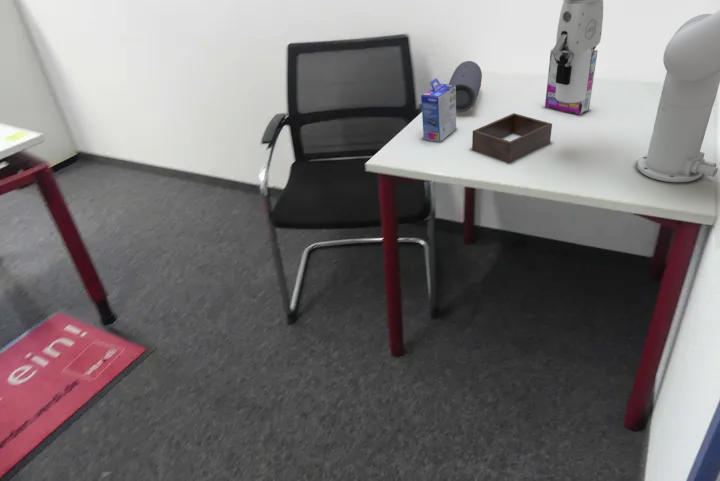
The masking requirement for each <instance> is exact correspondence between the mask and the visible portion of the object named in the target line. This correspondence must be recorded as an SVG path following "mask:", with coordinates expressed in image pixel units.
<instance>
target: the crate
mask: <svg viewBox="0 0 720 481" xmlns="http://www.w3.org/2000/svg"><path fill="white" fill-rule="evenodd" d="M552 129H553V123H551V122H547V121H543V120H539V119H537V118H533V117H529V116H526V115H523V114H518V113H515V112H513V113H511V114H508V115H506V116H504V117H502V118H499V119H497V120H495V121H492V122H490V123H488V124H486V125H483V126H481V127H479V128H475V129H474V130H472V136H471V137H472V141H471V150H472V151H474V152H477V153H480V154H482V155H486V156H488V157H491V158H494V159H496V160H499V161H502V162H505V163H508V164H511V163H512V162H515V161H516V160H518V159H520V158H523V157H524V156H527V155H528V154H531V153H533V152H535V151H537V150H539V149H540V148H543V147H544V146H547V145H549V144H550V143H551V137H552ZM511 134H515V135H519V137H517V138H515V139H513V140H511V141H509V140H507V139H503V138H504V137H507V136H510V135H511Z"/></svg>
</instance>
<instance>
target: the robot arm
mask: <svg viewBox="0 0 720 481" xmlns="http://www.w3.org/2000/svg"><path fill="white" fill-rule="evenodd" d="M562 1H563V2H562V5H561V8H560V9H561V10H560V14H559V18H558V24H557V31H556V32H557V33H556V38H555V39H556V40H555V45H554V47H553V48H552V49H553V50H552V54H553V56H554V58H555V61H556V65H557V73H556V83H559V84H564V85H569V84H570V77H571V69H572V66H570V63H571V61H572V58H573V55H574V54H577V53H580V52H583V51H585V50H587V49H591V51H592V54H591V60H592V57H593V55H594V50H596V48H597V47H598V45H599V44H600V43H601V40H602V34H603V33H602V31H603V20H604V0H562ZM565 48H568V49H569V51H568V50H565ZM564 54H568V57H567V59H566V58H565V56H564ZM662 60H663V66H664V68H665V70H666V73H665V77H664V81H663V85H662V90H661V94H660V97H659V101H658V106H657V112H656V115H655V120H654V123H653V129H652V133H651V137H650V142H649V146H648V150H647V154H645V155H643V156H641V157H639V159H638V160H637V164H636V167H637V170H638V171H639V172H640V173H641V174H643V175H644V176H645V177H648V178H651V179H654V180H657V181H662V182H665V183H666V182H668V183H688V182H693V181H696V180H697V179H700V178H701V177H703V175H704V176H708V177H711V178H714V177H715V176H716V175H717V172H718V167H717V163H716V162H713V161H706V160H705V159H704V157H705V152H703V151H701V150H702V146H703V143H704V139H705V135H706V132H707V128H708V125H709V121H710V117H711V113H712V110H713V107H714V104H715V101H716V97H717V94H718V90H719V87H720V9H719V10H717V11H715V12H713V13H703V14H698V15H696V16H693V17H691V18H690V19H688V20H687V21H685V22H684V23H683V24H682V25H681V26H680V27H679V28H678V29H677V30H676V32H675V33H674V34H673V35H672V37H671V38H670V40H669V41H668V43H667V45H666V46H665V48H664V52H663V59H662ZM590 68H591V62H590ZM589 75H590V69H589Z"/></svg>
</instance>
